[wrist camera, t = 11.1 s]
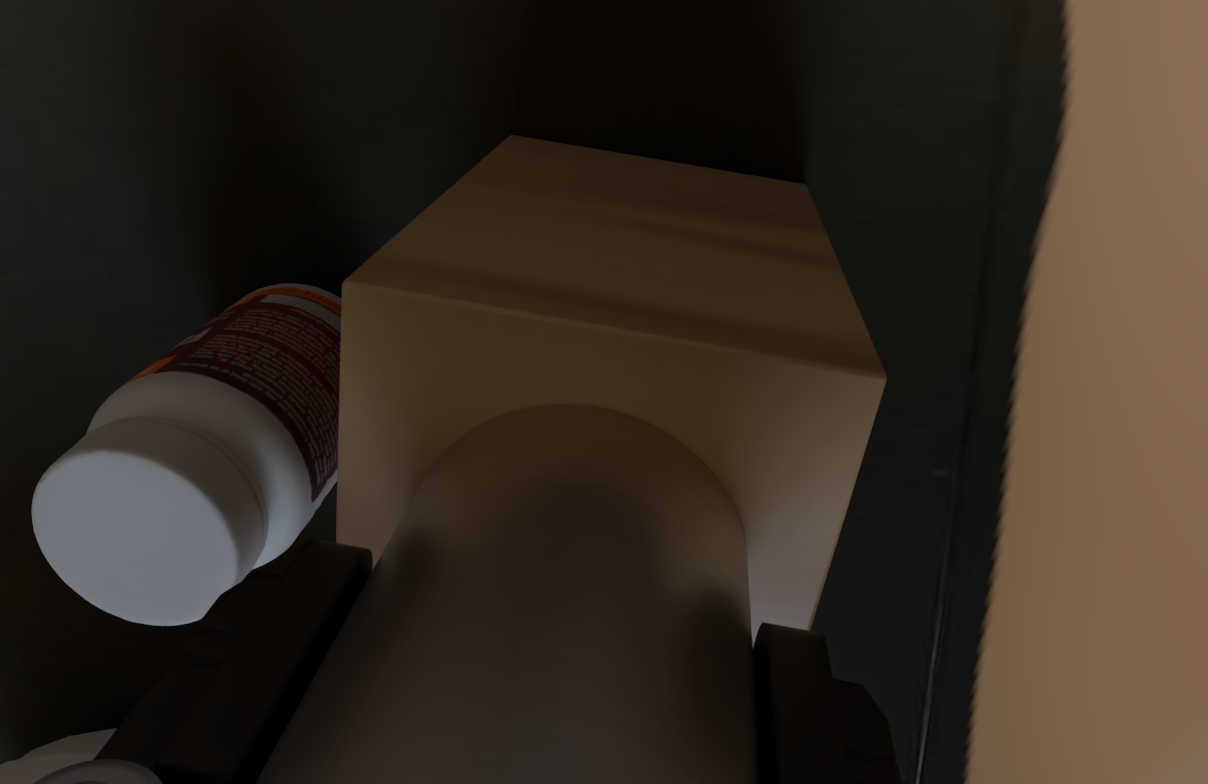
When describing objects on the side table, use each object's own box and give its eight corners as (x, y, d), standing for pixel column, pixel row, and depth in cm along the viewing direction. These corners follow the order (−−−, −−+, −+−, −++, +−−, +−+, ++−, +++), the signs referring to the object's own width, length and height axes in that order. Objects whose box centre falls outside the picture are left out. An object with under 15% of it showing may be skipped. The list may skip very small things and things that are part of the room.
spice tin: (419, 373, 12) (151, 758, 6) (782, 438, 12) (848, 891, 6) (401, 654, 14) (186, 1140, 8) (710, 712, 14) (710, 1248, 8)
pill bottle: (242, 250, 24) (21, 387, 16) (418, 323, 24) (282, 491, 16) (206, 403, 26) (-5, 589, 18) (368, 468, 26) (227, 677, 18)
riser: (509, 134, 22) (340, 280, 12) (807, 183, 21) (889, 376, 12) (483, 399, 25) (330, 695, 15) (743, 446, 24) (766, 777, 15)
